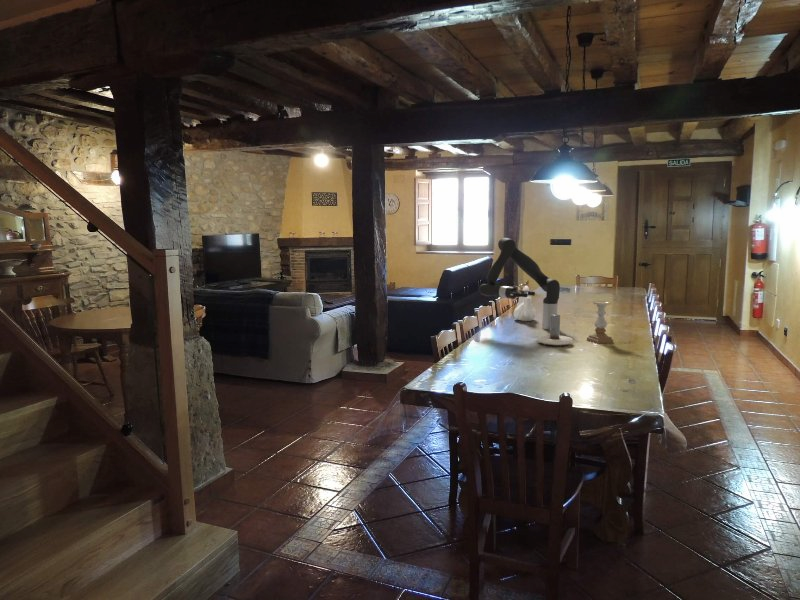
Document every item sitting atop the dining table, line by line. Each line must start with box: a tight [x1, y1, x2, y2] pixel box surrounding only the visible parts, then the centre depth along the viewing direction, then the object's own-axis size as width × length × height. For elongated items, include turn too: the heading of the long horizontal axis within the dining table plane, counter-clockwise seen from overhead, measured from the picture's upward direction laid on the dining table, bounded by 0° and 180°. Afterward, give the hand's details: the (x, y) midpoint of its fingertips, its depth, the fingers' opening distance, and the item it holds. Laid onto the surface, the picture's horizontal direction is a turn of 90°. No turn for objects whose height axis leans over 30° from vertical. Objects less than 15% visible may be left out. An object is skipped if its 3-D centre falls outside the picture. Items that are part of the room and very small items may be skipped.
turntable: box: [537, 334, 573, 346], centre depth 329 cm, size 20×20×2 cm
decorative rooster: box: [513, 285, 537, 322], centre depth 399 cm, size 25×16×25 cm, turn 164°
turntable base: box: [543, 343, 568, 347], centre depth 330 cm, size 14×14×2 cm
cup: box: [549, 313, 561, 340], centre depth 328 cm, size 6×6×14 cm
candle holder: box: [586, 300, 614, 345], centre depth 333 cm, size 11×11×24 cm
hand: (530, 294), depth 339 cm, fingers open, 8 cm apart
